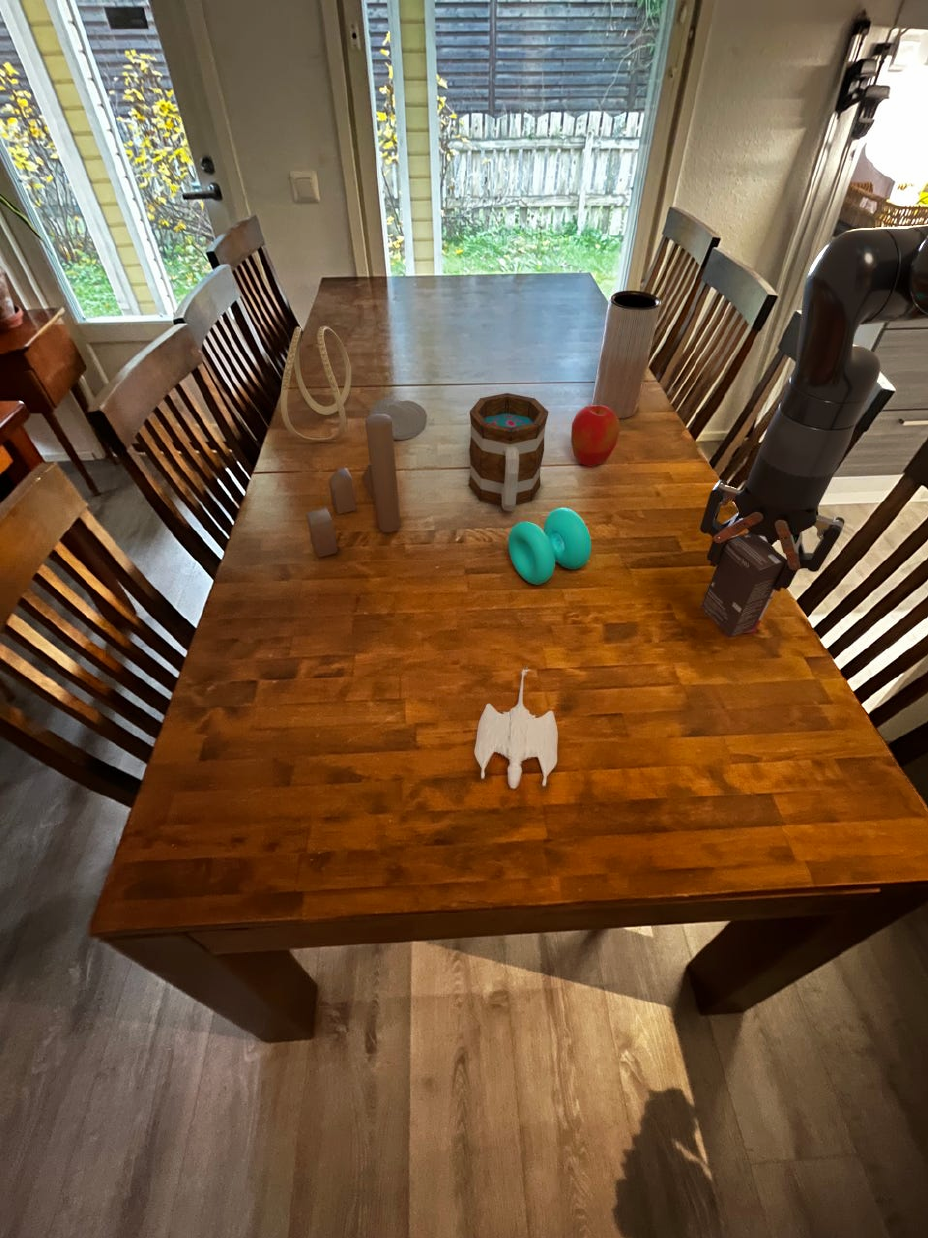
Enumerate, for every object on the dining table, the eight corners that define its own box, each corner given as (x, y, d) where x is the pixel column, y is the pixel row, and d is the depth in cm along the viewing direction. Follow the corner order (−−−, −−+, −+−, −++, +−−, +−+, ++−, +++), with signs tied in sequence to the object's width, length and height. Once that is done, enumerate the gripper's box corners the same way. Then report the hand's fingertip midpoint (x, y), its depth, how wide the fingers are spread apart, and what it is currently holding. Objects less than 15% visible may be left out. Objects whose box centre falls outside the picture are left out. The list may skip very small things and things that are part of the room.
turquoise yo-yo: (589, 577, 100) (600, 527, 93) (538, 599, 96) (545, 549, 89) (552, 542, 106) (559, 493, 99) (503, 562, 102) (506, 512, 95)
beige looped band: (350, 453, 125) (336, 353, 110) (290, 456, 124) (268, 355, 110) (355, 402, 140) (343, 307, 125) (301, 403, 139) (283, 309, 124)
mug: (468, 465, 122) (469, 392, 111) (537, 466, 122) (544, 392, 111) (469, 528, 108) (470, 452, 98) (547, 528, 108) (556, 452, 98)
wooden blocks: (379, 474, 120) (368, 372, 105) (414, 533, 107) (408, 427, 93) (291, 494, 115) (267, 390, 101) (317, 558, 103) (294, 450, 88)
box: (697, 609, 82) (724, 537, 74) (724, 600, 84) (755, 528, 75) (727, 641, 78) (760, 568, 70) (755, 631, 80) (791, 558, 71)
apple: (590, 480, 119) (600, 422, 110) (556, 460, 124) (564, 403, 115) (622, 463, 123) (635, 406, 114) (589, 444, 128) (598, 388, 119)
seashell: (377, 414, 136) (361, 431, 128) (380, 389, 132) (363, 404, 124) (428, 429, 135) (415, 447, 127) (432, 404, 132) (419, 421, 124)
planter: (584, 399, 141) (601, 291, 125) (625, 395, 143) (647, 288, 126) (601, 421, 134) (621, 310, 118) (644, 416, 136) (670, 306, 120)
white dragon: (484, 676, 86) (485, 657, 83) (559, 684, 85) (563, 665, 82) (468, 796, 73) (468, 778, 70) (555, 807, 72) (559, 789, 69)
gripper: (717, 448, 64) (677, 570, 76) (869, 494, 59) (800, 617, 70) (739, 418, 68) (697, 537, 80) (882, 458, 63) (815, 579, 75)
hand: (745, 574), depth 75 cm, fingers closed on box, 7 cm apart
